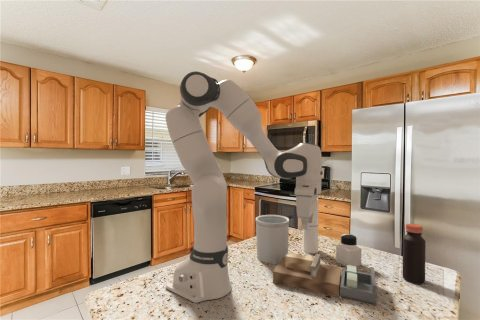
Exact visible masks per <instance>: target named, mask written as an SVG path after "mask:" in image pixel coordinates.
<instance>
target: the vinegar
mask: <svg viewBox="0 0 480 320" xmlns="http://www.w3.org/2000/svg"><path fill="white" fill-rule="evenodd" d="M405 232H406V234H405V235H404V236H402V278H403V279H404V280H405V281H406V282H409V283H412V284H416V285H423V284H426V245H427V244H426V242H427V241H426V240H425V239H424V238H423V236H422V235H423V226H422V225H421V224H416V223H407V224H405Z"/></svg>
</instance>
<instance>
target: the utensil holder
mask: <svg viewBox="0 0 480 320" xmlns="http://www.w3.org/2000/svg"><path fill="white" fill-rule="evenodd" d="M255 225H256V227H255V231H256V232H255V233H256V234H255V236H256V256H257V257H256V258H257V259H258V260H259V261H260V262H263V263H265V264H271V265H272V264H273V265H278V264H279V262H280V261H281V260H282V258H283V257H285V256H286V255H287V253H288V254H289V225H290V219H289V217H287V216H284V215H278V214H265V215H264V214H262V215H258V216H256V217H255Z"/></svg>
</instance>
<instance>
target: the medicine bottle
mask: <svg viewBox="0 0 480 320" xmlns="http://www.w3.org/2000/svg"><path fill="white" fill-rule="evenodd" d="M357 240H358V239H357V236H355V235H354V234H352V233H351V234H350V233H343V234H340V244H336V246H335V247H336V250H335V261H336V263H338V264H341V265H342V266H344V267H345V268H347V265H351V266H356V267H359V266H360V267H361V266H362V248H361V247H359V246H357V245H358V243H357Z"/></svg>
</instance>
